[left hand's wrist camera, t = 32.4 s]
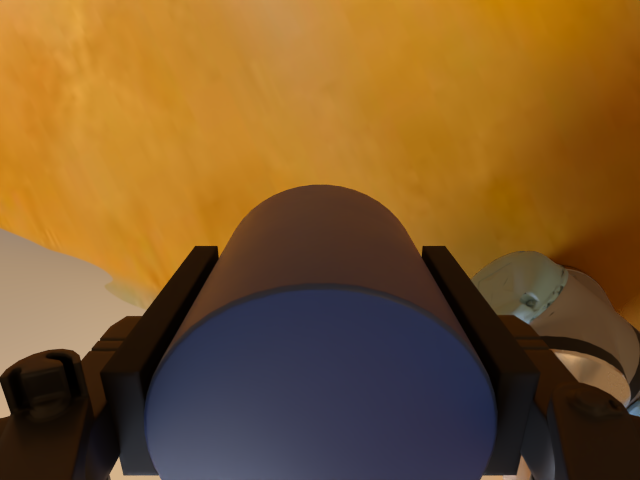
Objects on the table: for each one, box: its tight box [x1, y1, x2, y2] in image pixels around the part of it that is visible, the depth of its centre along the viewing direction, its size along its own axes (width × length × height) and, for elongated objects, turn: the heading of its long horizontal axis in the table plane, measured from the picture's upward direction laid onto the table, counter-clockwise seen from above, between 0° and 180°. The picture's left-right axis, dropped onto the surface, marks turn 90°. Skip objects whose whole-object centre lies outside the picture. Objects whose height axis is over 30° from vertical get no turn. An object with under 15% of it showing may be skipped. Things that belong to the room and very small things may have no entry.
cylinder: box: [144, 185, 498, 480], centre depth 12 cm, size 7×7×7 cm
